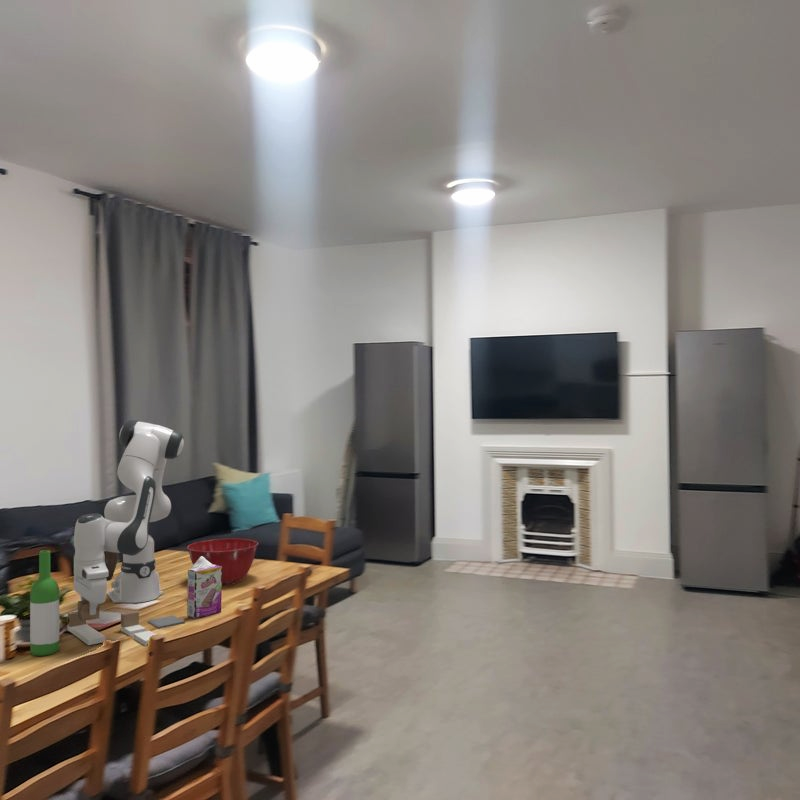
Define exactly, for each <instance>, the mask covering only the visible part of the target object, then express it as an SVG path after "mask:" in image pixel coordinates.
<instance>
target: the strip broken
mask: <svg viewBox="0 0 800 800" xmlns="http://www.w3.org/2000/svg"><path fill="white" fill-rule="evenodd" d="M120 631H121V632H123V633H124V634H125V635H128V636H129V637H132V636H133V639H134V640H135V641H137V642H139V644H142V645H143V646H145V647H147V646H148V645H147V644H148V640H149V638H150V636H152V635H157V633H155V632H153V631H151V630H146V628H145V627H144V626H142V625H140V612H139V611H137V610H131V611H127V612H122V613H120ZM146 645H147V646H146Z"/></svg>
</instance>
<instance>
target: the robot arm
mask: <svg viewBox="0 0 800 800" xmlns="http://www.w3.org/2000/svg"><path fill="white" fill-rule="evenodd" d="M118 435H119V436H118V437H119V439H118V440H119V441H118V442H119V444H120V445H121V446H122V447H123V448H125V450H124V452H123V454H122V457H121V459H120V462H119V464H118V467H117V477H118V479H119V481H120V482H121V484H123V485H124V486H125V487H126V488H127V489H130V490H131V491H132V492H134V494H131V495H123V496H119V497H115V498H113V499H110V500H108V502H107V503H106V505H105V507H104V511H103V512H104V516H103V515H102V514H101V513H88V514H87V513H86V514H84V515H81V516H80V517H79V518H78V519H77V520H76V522H75V527H74V532H73V533H74V534H73V546H74V550H75V552H74V555H73V576H74V577H73V590H74V592H75V593H77V594H78V595H80V601H83V600H88V601H89V604H90V608H89V614H90V615H95V614H96V608H97V605H98V604H100V605H101V604H102V605H103V604H104V603H105V602H106V600H107V599H106V598H107V595H108V597H109V599H110V600H111V601H112V603H115V604H117V603H125V604H127V603H128V604H133V603H144V602H149V601H153V600H155V599H158V598H159V597H160V596H162V595H164V591H163V590H161V588H160V587H161V586H160V575H159V572H158V571H156V559H155V540H154V538H153V537H152V535H150V534H149V526H150V523H153V522H154V523H155V522H158V521H161V520H163V519H165V518H167V517H168V516H169V515H170V513H171V510H172V503H171V500H170V498H169V497H168V495H167V494H165V493H164V491H163V486H162V485H163V478H164V472H165V469H166V465H167V460H174V459H176V458H178V457H179V455H180V454H181V452H182V451H183V449H184V446H185V445H184V443H185V441H184V436H183V434H182V432H180V431H178V430H176V429H170V428H168V427H166V426H162V425H159V424H154V423H151V422H145V421H139V420H137V419H129V420H127V421H125V422H124V424H123V425H122V427H121V428H120V431H119V434H118ZM104 551H109V552H116V553H119V554H122V561H121V564H120V572H119V573H118V575H117V576H116V577H115V578H114V581H111V590H107V588H108V580H107V579H106V577H108V576H109V571H108V569H107V567H106V565H105V555H104Z"/></svg>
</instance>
